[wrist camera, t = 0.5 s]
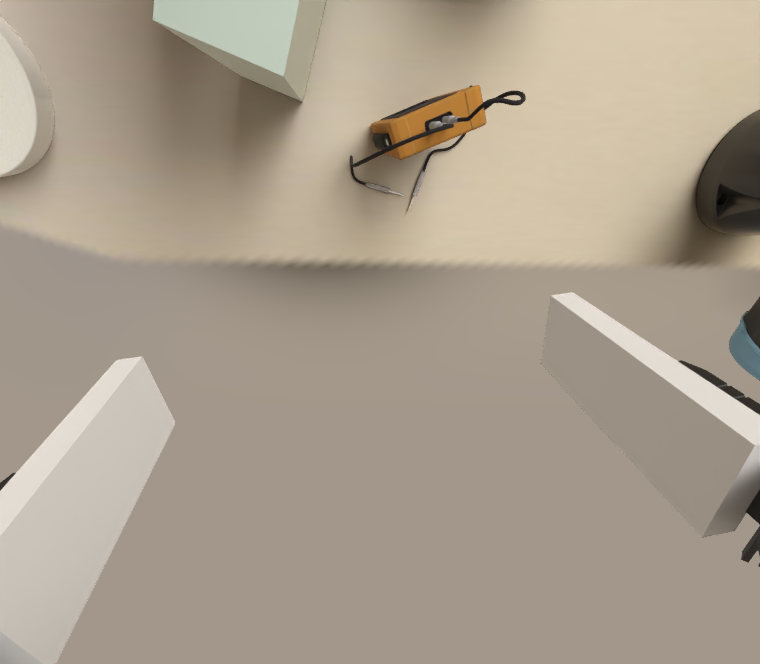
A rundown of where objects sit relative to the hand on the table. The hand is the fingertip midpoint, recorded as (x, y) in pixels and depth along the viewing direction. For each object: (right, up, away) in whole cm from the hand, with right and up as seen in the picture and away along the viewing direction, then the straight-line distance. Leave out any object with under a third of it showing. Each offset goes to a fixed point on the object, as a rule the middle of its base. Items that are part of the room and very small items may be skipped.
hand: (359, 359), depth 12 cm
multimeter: (+5, +20, +29) cm, 35 cm away
